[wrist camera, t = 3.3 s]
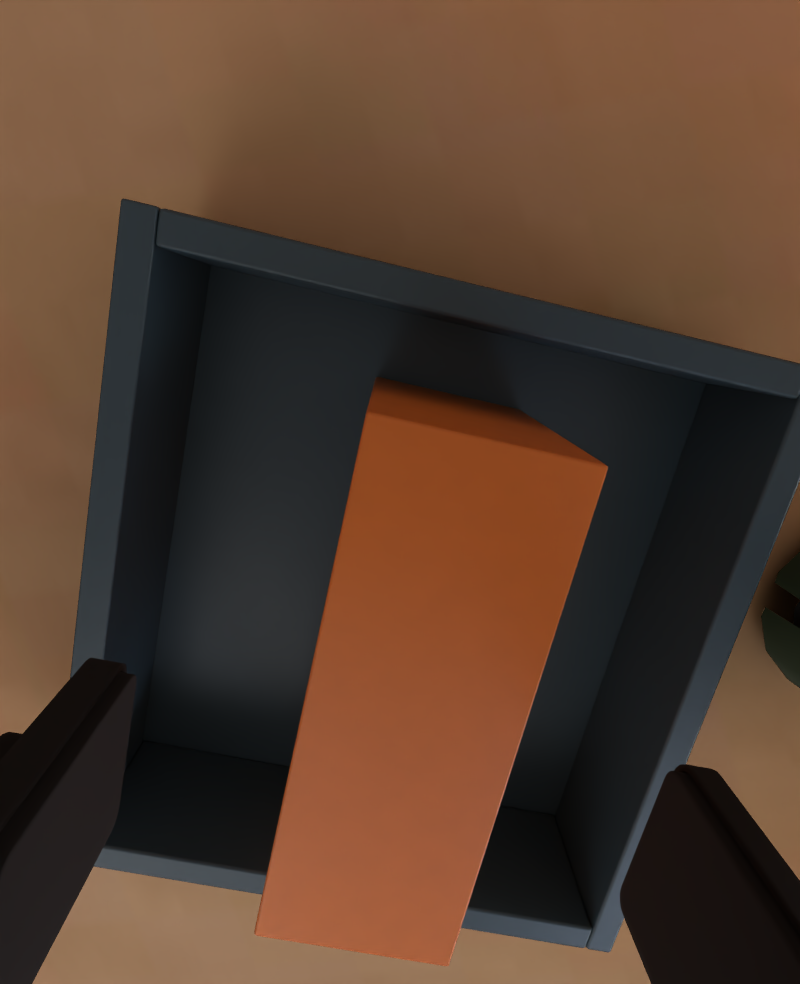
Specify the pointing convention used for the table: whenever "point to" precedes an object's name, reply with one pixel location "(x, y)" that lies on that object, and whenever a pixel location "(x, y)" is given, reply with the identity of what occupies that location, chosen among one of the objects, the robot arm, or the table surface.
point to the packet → (424, 669)
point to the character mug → (785, 626)
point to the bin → (317, 525)
